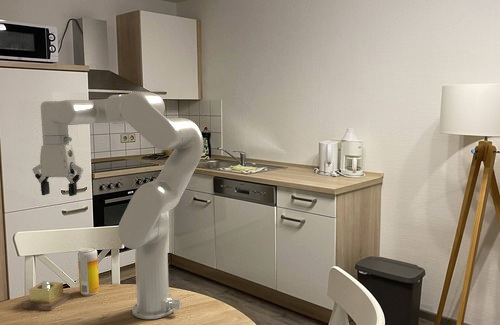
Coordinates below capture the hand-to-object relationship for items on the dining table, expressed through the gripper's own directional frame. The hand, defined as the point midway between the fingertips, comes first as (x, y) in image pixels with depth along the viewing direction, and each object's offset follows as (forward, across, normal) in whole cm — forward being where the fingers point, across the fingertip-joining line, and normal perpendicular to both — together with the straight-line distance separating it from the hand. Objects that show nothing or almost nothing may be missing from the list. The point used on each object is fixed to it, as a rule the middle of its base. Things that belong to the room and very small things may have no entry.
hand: (59, 194), depth 150 cm
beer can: (+34, -5, -6) cm, 35 cm away
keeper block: (+34, +4, +4) cm, 35 cm away
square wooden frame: (+33, +4, +4) cm, 33 cm away
